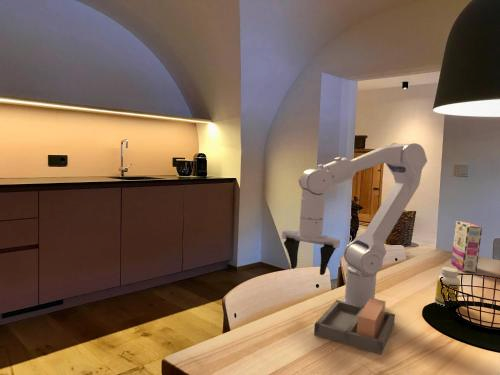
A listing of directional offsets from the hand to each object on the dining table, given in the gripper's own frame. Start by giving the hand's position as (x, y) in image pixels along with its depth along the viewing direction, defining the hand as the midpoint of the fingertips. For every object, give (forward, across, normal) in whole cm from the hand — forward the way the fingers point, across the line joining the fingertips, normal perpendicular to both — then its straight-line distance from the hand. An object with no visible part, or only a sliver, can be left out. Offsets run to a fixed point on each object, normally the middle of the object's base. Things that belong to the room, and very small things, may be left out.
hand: (307, 270), depth 96 cm
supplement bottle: (+10, +31, +25) cm, 41 cm away
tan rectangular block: (+9, +17, -5) cm, 20 cm away
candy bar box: (+10, +35, +68) cm, 77 cm away
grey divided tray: (+9, +14, -5) cm, 18 cm away
